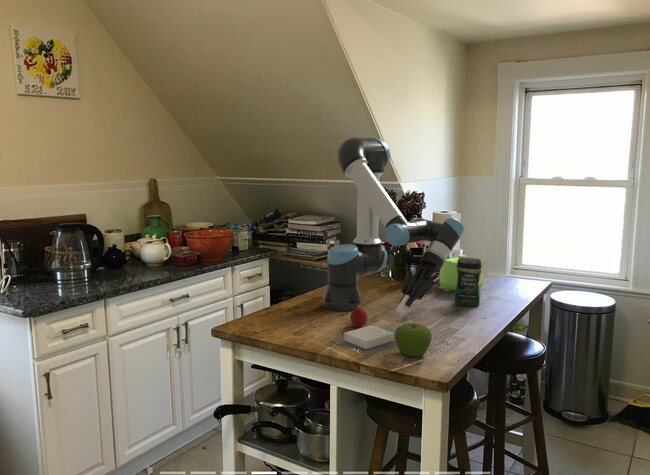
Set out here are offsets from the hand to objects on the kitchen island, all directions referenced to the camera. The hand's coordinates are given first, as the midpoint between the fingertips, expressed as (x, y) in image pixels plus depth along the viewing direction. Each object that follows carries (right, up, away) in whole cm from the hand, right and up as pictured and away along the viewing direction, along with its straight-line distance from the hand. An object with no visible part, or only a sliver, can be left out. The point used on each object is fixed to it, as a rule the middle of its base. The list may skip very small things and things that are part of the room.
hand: (399, 313), depth 178 cm
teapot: (+36, +2, +59) cm, 69 cm away
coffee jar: (+32, -2, +37) cm, 49 cm away
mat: (-8, -8, -6) cm, 13 cm away
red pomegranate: (-13, -6, +7) cm, 16 cm away
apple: (+2, -10, -18) cm, 21 cm away
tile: (-6, -6, -4) cm, 9 cm away
